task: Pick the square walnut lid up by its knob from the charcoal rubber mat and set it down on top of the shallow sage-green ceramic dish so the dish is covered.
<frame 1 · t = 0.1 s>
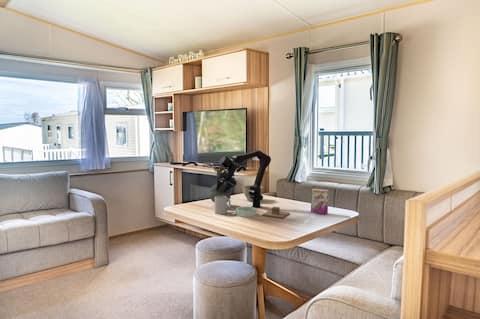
hand: (220, 191, 233), 15 cm above the table, tool tilted 35°, fingers open, 9 cm apart
walnut lid: (275, 211, 228), on the rubber mat
planter bowl: (252, 200, 278), on the table
sage dish: (245, 215, 230), on the table
candy bar box: (319, 213, 237), on the table
pitcher: (222, 205, 257), on the table
rubber mat: (275, 215, 229), on the table
mug: (222, 212, 236), on the table
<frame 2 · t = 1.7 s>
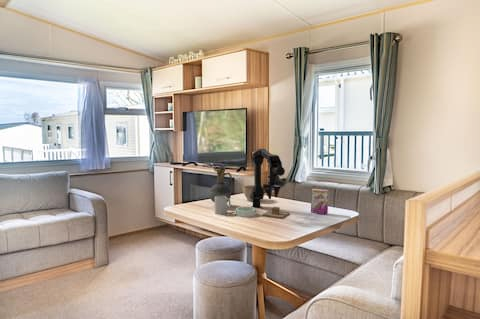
hand: (273, 198, 227), 12 cm above the table, tool pointing down, fingers open, 9 cm apart
nothing on the table moved.
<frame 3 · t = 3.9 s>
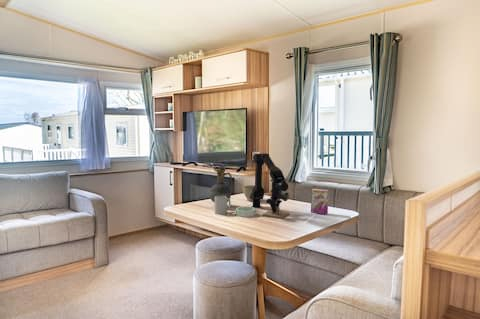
hand: (275, 212, 228), 3 cm above the table, tool pointing down, fingers closed on walnut lid, 4 cm apart
walnut lid: (275, 211, 228), on the rubber mat, touching gripper
everything else where it was.
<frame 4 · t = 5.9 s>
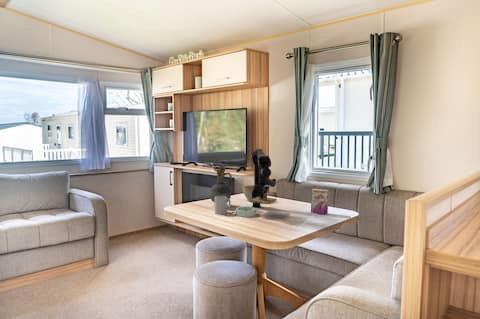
hand: (263, 198, 228), 12 cm above the table, tool pointing down, fingers closed on walnut lid, 4 cm apart
walnut lid: (263, 197, 228), point 12 cm above the table, touching gripper
everything else where it was.
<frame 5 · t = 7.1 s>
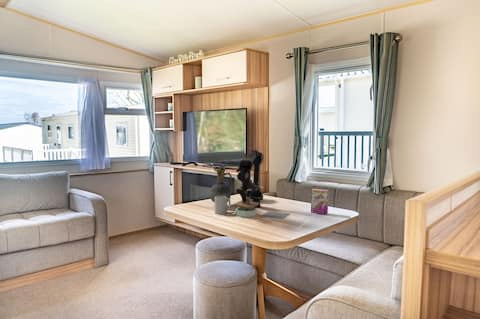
hand: (246, 202, 229), 9 cm above the table, tool pointing down, fingers closed on walnut lid, 4 cm apart
walnut lid: (246, 201, 229), point 9 cm above the table, touching gripper
everything else where it was.
when the fingers open (8 cm above the table, at t = 8.0 s): walnut lid drops 2 cm, point 7 cm above the table.
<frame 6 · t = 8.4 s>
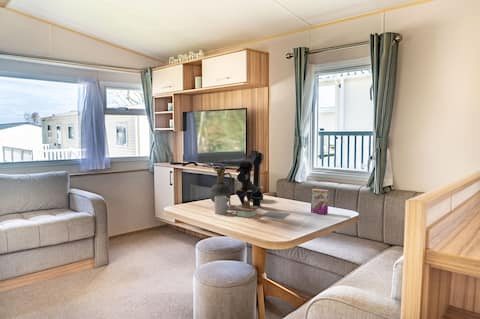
hand: (246, 203, 229), 8 cm above the table, tool pointing down, fingers open, 9 cm apart
walnut lid: (245, 205, 229), point 7 cm above the table
everything else where it was.
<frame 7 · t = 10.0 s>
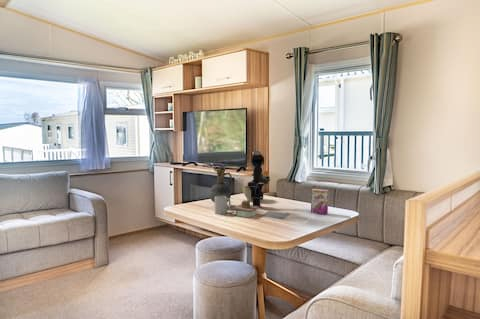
hand: (257, 194, 238), 12 cm above the table, tool pointing down, fingers open, 9 cm apart
nothing on the table moved.
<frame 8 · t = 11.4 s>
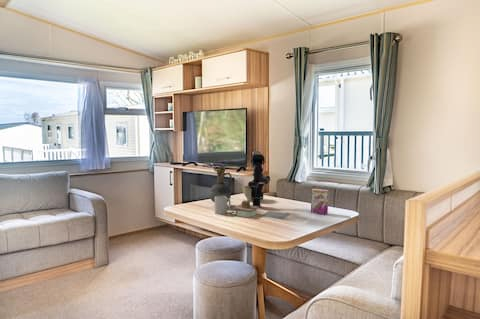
hand: (257, 194, 238), 12 cm above the table, tool pointing down, fingers open, 9 cm apart
nothing on the table moved.
at the end: walnut lid 0.1 cm off-centre on the sage dish, point 7.0 cm above the sage dish's base; walnut lid tilted 0°; the gripper is holding nothing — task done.
